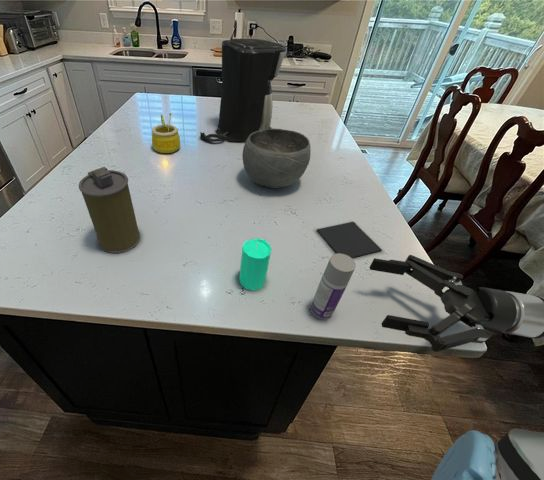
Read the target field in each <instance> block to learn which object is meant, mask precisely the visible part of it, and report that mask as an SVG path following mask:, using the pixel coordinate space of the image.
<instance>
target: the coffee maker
mask: <svg viewBox="0 0 544 480" xmlns="http://www.w3.org/2000/svg"><path fill="white" fill-rule="evenodd" d="M286 51H287V48H286V46H285V45H283V44H281V43H278V42H274V41H271V40H265V39H258V38H230V39H226V40H222V42H221V92H220V103H219V104H220V105H219V114H218V124H217V127H216V129H215V132H216V133H209V134H207V135H206V134H205V132H201V131H200V132H199V133H200V136H199V138H200V140H204V141H207V142H210V143H211V142H212V143H217V142H222V141H227V142H233V143H235V142H237V143H238V142H240V143H245V142H246V140H247V138H248V137H249V135H250V134H251V133H253V132H256V131H259V130H264V129H273V127H272V126H271V125H272V124H271V123H272V117H273V89H272V83H271V82H272V81H273V80H274V79H275V78H277V77H278V75H279V73H280V70H281V67H282V64H283V61H284V58H285V54H286ZM210 137H215V138H210Z"/></svg>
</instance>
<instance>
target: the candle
mask: <svg viewBox="0 0 544 480" xmlns="http://www.w3.org/2000/svg"><path fill="white" fill-rule="evenodd" d="M271 254H272V247H271V244H270V243H269V242H268V241H266V239H263V238H259V237H257V238H252V239H249V240H246V241H245V240H244V243H243V244H242V248H241V257H240V266H239V267H240V268H239V277H238V279H239V284H240V285H241V286H242V287H243V288H244V289H247V290H248V291H258V290H260V289H262V288H263V287H264V285H265V283H266V279H267V274H268V269H269V263H270V259H271Z"/></svg>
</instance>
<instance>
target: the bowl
mask: <svg viewBox="0 0 544 480" xmlns="http://www.w3.org/2000/svg"><path fill="white" fill-rule="evenodd" d="M311 152H312V151H311V142H310V139H309V138H308V137H307V136H305V135H304V134H303V133H301V132H298V131H294V130H288V129H283V128H272V129H264V130H259V131H256V132H253V133H251V134H250V135H249V137H248V138H247V140H246V141H245V142H244V145H243V149H242V157H241V158H242V164H243V168H244V170H245V172H246V173H247V175H248V177H249V178H250V179H251V180H252V181H253V182H254V183H256V184H258V185H260V186H262V187H266V188H272V189H278V188H285V187H288V186H290V185H293V184H295V182H297V181H298V180H299V179H300V178H301V177H303V175H304V174H305V172H306V170H307V168H308V166H309V165H310V161H311Z"/></svg>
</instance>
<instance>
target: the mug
mask: <svg viewBox="0 0 544 480" xmlns="http://www.w3.org/2000/svg"><path fill="white" fill-rule="evenodd" d="M171 116H172V112H170V113H169V119H168V124H167V123H166V122H165V117H164V114H160V120H161V124H158V125H155V126H154V127H153V128H152V129H151V133H152V134H151V145H152V148H153V150H154V151H156V152H157V153H161V154H172V153H175V152H176V151H178V150H179V149H180V147H181V138H180V134H179V129H178V127H177V126H176V125H173V124H170V122H171Z"/></svg>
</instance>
